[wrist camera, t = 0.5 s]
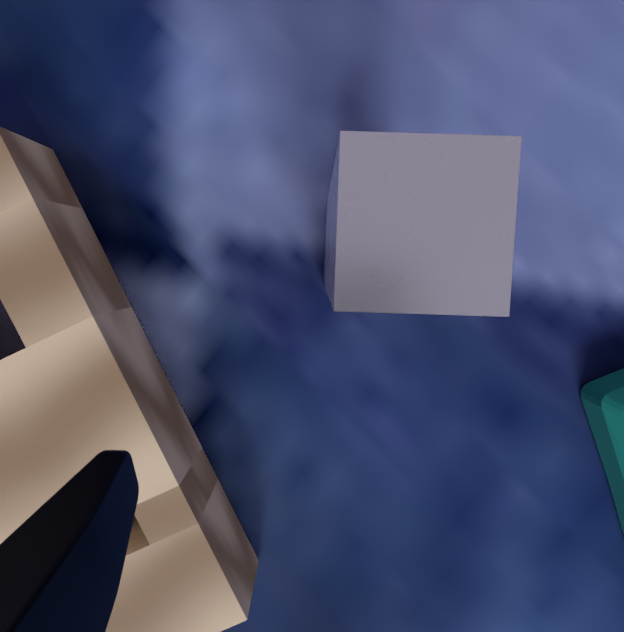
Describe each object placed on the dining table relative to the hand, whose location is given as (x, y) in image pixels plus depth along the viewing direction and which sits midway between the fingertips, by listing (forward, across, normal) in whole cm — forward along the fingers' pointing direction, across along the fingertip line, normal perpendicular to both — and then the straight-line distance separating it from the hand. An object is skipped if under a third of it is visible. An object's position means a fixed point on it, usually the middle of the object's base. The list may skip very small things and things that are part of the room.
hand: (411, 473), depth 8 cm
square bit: (+15, 0, +3) cm, 15 cm away
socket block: (+11, +13, +10) cm, 20 cm away
